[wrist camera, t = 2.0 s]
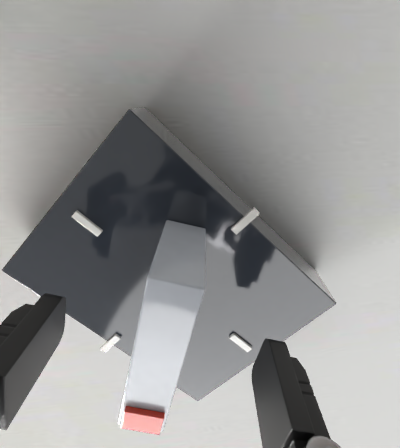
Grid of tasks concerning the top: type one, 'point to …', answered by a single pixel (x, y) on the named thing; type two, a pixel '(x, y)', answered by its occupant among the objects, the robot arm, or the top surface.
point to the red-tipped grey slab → (164, 326)
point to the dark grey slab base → (147, 244)
